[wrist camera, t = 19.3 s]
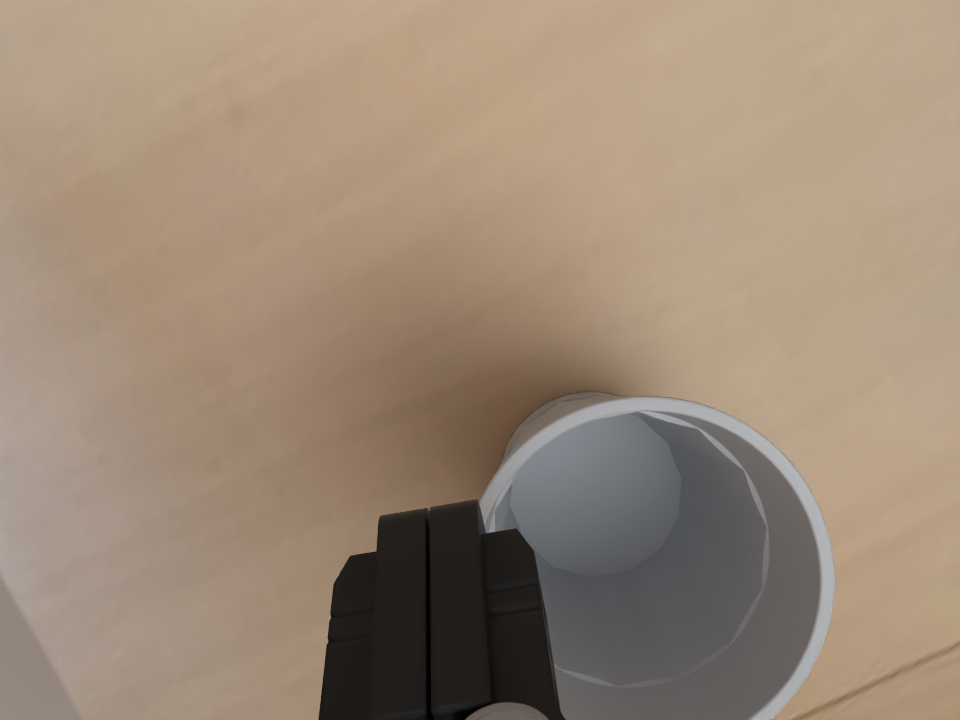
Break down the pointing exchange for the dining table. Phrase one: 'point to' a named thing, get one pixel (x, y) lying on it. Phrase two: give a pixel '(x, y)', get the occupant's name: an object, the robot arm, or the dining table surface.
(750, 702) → the cup
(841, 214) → the dining table surface
